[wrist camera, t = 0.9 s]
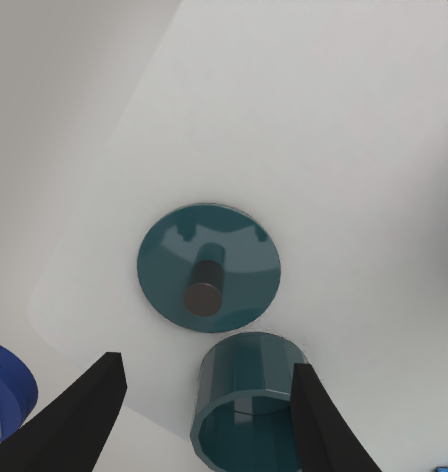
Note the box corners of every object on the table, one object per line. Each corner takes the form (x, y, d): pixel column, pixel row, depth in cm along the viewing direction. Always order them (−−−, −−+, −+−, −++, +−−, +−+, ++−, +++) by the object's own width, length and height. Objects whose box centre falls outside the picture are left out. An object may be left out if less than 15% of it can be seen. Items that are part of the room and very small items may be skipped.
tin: (191, 403, 26) (180, 469, 21) (212, 321, 22) (205, 377, 17) (291, 423, 26) (304, 493, 21) (326, 345, 23) (352, 407, 18)
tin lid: (135, 308, 22) (112, 348, 18) (150, 185, 19) (126, 200, 15) (258, 335, 23) (262, 379, 19) (297, 219, 19) (312, 243, 15)
